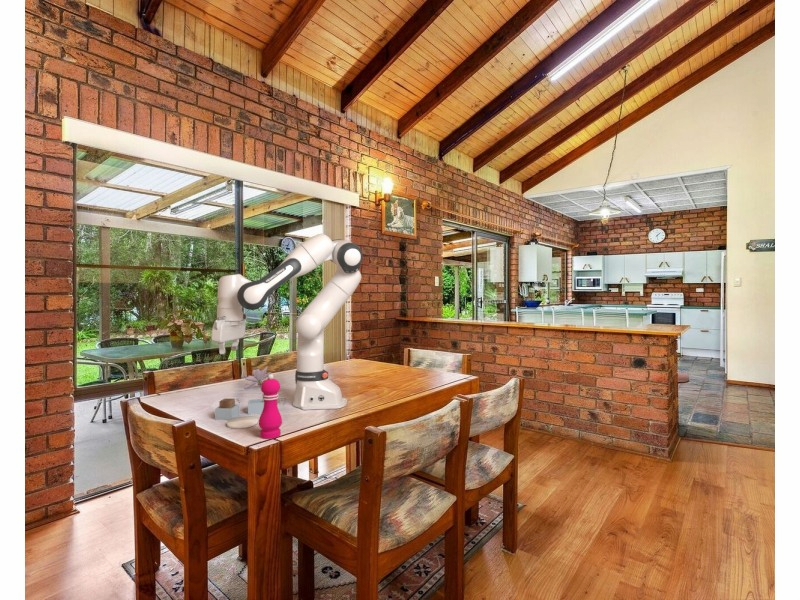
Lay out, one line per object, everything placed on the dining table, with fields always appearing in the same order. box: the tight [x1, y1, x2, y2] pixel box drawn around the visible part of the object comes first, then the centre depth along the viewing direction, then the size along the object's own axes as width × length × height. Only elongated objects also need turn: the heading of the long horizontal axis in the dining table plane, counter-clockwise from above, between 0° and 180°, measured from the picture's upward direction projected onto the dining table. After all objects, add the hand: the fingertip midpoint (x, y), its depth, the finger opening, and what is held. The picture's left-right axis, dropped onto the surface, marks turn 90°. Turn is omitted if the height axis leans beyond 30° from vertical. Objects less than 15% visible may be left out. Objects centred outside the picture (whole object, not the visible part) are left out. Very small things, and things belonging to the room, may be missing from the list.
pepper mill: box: [258, 373, 283, 440], centre depth 132 cm, size 7×7×20 cm
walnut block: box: [218, 398, 236, 408], centre depth 152 cm, size 4×4×6 cm
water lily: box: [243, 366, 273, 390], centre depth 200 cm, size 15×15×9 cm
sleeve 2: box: [247, 398, 264, 415], centre depth 160 cm, size 6×6×4 cm
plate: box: [226, 415, 259, 430], centre depth 144 cm, size 10×10×1 cm
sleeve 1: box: [214, 403, 240, 421], centre depth 152 cm, size 6×6×4 cm
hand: (228, 352), depth 156 cm, fingers open, 8 cm apart
